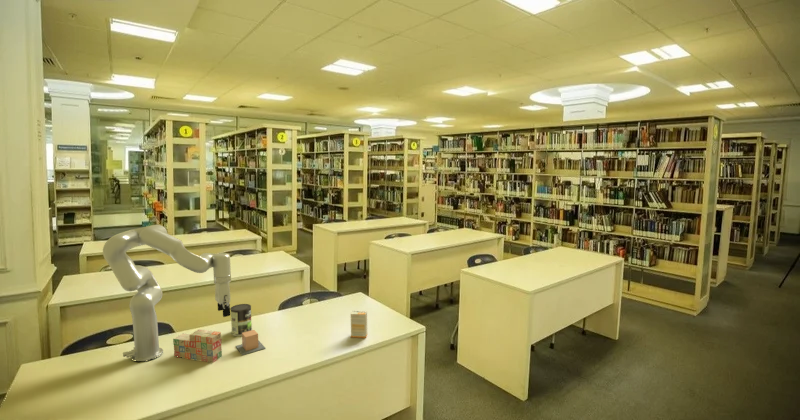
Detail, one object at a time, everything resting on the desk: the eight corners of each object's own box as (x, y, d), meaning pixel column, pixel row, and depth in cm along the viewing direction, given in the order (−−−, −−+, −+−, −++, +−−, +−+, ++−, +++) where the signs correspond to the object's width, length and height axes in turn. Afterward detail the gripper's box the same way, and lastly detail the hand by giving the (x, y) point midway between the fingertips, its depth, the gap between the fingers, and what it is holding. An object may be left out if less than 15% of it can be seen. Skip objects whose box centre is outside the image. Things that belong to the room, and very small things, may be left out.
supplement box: (367, 334, 205) (367, 310, 204) (365, 338, 201) (365, 314, 199) (352, 333, 206) (352, 310, 205) (350, 337, 201) (350, 313, 200)
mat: (242, 355, 181) (242, 354, 181) (235, 346, 190) (235, 345, 190) (265, 348, 188) (265, 347, 188) (258, 340, 197) (258, 339, 197)
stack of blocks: (173, 357, 179) (172, 332, 178) (184, 351, 185) (182, 327, 184) (213, 363, 175) (211, 337, 173) (222, 356, 181) (221, 331, 179)
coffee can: (255, 328, 212) (254, 303, 210) (247, 336, 202) (246, 310, 200) (236, 327, 212) (235, 303, 211) (228, 336, 202) (226, 310, 200)
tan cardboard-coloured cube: (246, 350, 185) (245, 337, 184) (242, 346, 189) (241, 332, 189) (258, 347, 189) (258, 333, 188) (254, 342, 193) (254, 329, 192)
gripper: (209, 276, 188) (211, 309, 190) (218, 284, 175) (220, 320, 177) (225, 273, 193) (227, 306, 195) (235, 281, 180) (237, 316, 181)
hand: (224, 313), depth 186 cm, fingers open, 9 cm apart
